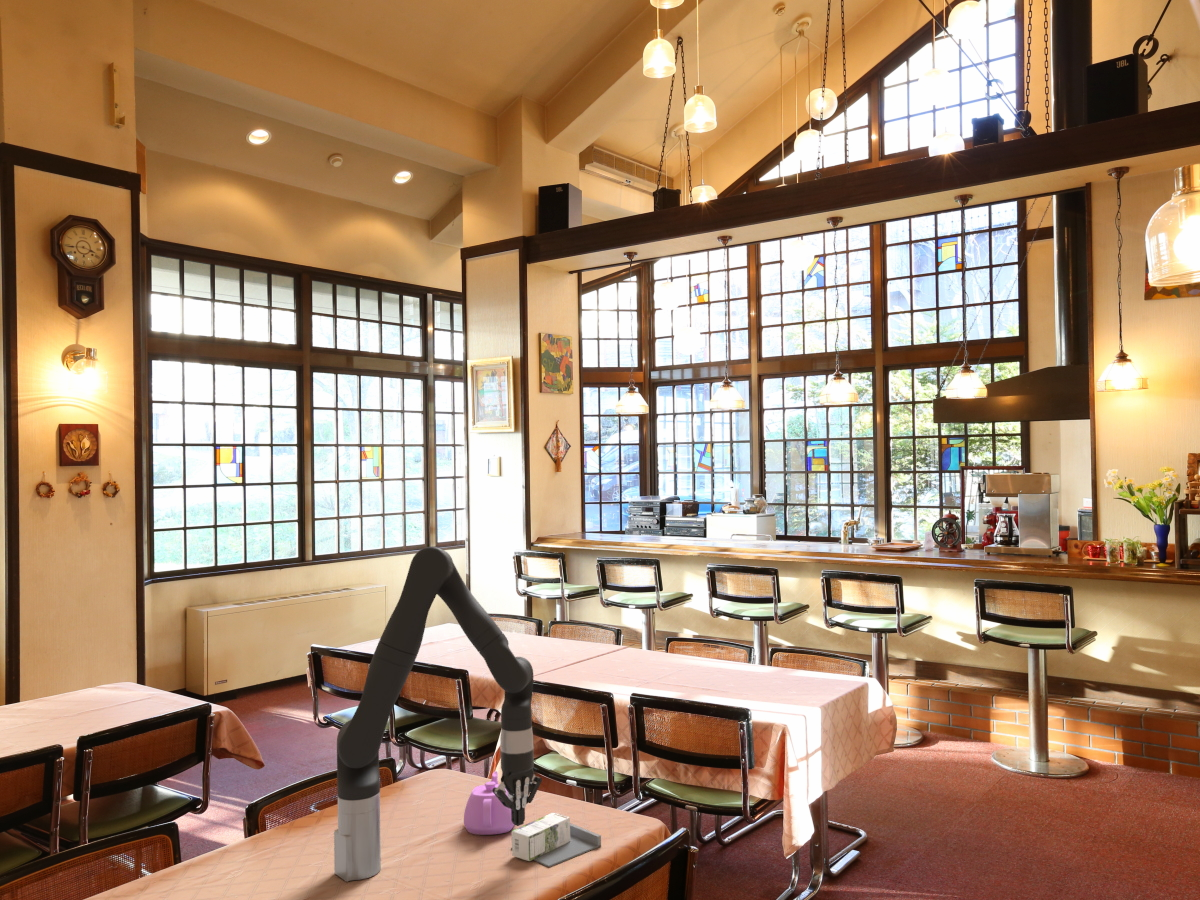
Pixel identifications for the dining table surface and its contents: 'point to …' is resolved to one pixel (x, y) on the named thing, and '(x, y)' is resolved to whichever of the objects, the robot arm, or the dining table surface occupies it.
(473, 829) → the teapot
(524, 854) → the syrup box
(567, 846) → the board with raised edge
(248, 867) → the dining table surface
